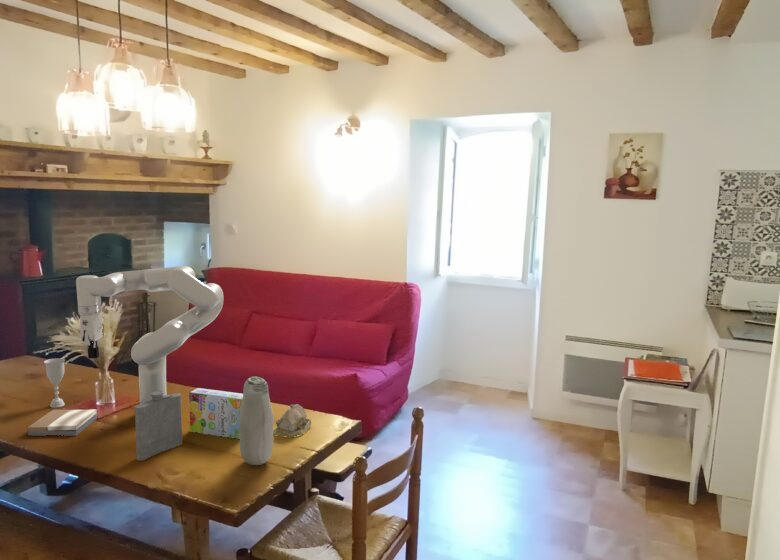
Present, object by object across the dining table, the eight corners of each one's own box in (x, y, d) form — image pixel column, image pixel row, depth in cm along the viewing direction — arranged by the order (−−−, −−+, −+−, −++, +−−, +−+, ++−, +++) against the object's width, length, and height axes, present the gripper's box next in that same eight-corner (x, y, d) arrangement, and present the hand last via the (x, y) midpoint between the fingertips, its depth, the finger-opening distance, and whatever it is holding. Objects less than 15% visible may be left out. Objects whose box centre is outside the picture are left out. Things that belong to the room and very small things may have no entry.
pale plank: (96, 413, 206) (96, 409, 206) (76, 429, 191) (75, 425, 191) (70, 413, 206) (69, 409, 205) (47, 430, 191) (47, 426, 191)
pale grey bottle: (279, 462, 177) (279, 378, 172) (251, 473, 169) (251, 385, 165) (260, 452, 183) (260, 370, 179) (233, 462, 176) (232, 377, 171)
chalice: (71, 402, 221) (69, 358, 218) (60, 408, 214) (57, 364, 211) (54, 401, 221) (52, 357, 219) (42, 407, 215) (39, 362, 212)
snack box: (250, 434, 197) (250, 393, 195) (241, 441, 191) (241, 399, 189) (198, 426, 202) (197, 386, 200) (188, 432, 197) (187, 391, 195)
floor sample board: (97, 417, 207) (97, 409, 206) (76, 435, 191) (75, 427, 191) (53, 417, 206) (53, 409, 206) (28, 435, 190) (27, 427, 190)
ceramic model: (293, 441, 193) (293, 413, 191) (267, 434, 197) (267, 407, 196) (316, 427, 205) (316, 401, 204) (291, 420, 210) (291, 395, 208)
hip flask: (140, 461, 174) (138, 401, 171) (133, 458, 177) (130, 398, 174) (184, 444, 187) (182, 387, 185) (176, 440, 190) (175, 384, 187)
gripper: (92, 313, 196) (96, 363, 198) (108, 305, 210) (112, 351, 213) (69, 313, 195) (74, 364, 198) (87, 305, 210) (91, 352, 212)
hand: (93, 357), depth 205 cm, fingers closed
